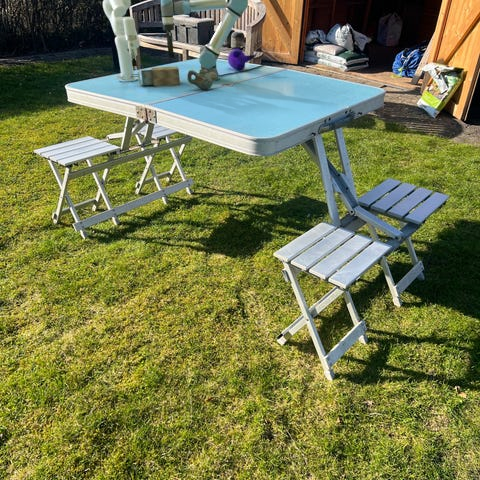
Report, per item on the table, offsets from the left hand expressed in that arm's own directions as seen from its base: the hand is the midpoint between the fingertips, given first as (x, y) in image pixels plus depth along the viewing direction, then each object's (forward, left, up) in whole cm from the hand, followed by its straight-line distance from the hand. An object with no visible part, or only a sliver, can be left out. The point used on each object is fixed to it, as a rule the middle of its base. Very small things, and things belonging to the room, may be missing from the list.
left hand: (134, 66), depth 317 cm
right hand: (+25, -6, +5) cm, 27 cm away
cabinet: (+20, -5, -14) cm, 25 cm away
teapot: (+37, -36, -14) cm, 53 cm away
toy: (+92, +18, -14) cm, 95 cm away
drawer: (+7, -2, -13) cm, 15 cm away
